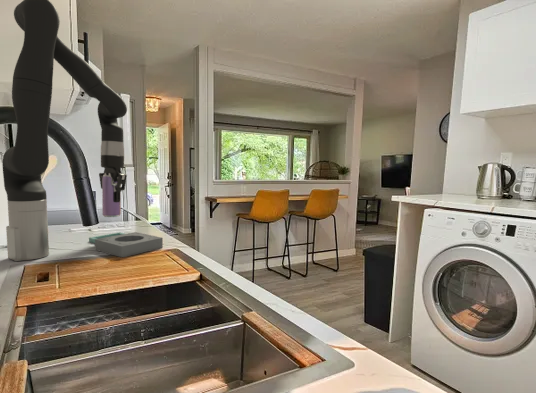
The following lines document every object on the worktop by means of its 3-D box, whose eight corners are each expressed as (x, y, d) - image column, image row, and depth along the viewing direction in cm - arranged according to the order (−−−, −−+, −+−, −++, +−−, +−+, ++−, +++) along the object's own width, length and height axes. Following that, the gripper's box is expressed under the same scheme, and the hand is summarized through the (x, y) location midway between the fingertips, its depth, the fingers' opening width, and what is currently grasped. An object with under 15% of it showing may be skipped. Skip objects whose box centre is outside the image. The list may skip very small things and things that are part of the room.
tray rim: (107, 246, 108) (107, 242, 108) (89, 241, 114) (88, 237, 114) (138, 240, 118) (138, 236, 118) (119, 236, 124) (119, 232, 124)
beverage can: (115, 217, 112) (115, 175, 111) (99, 217, 112) (98, 175, 111) (123, 215, 118) (123, 175, 117) (107, 214, 118) (107, 175, 117)
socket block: (122, 257, 96) (121, 246, 95) (95, 249, 104) (95, 239, 103) (162, 247, 108) (162, 237, 108) (135, 241, 116) (135, 232, 116)
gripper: (91, 154, 114) (91, 200, 115) (114, 153, 106) (114, 203, 107) (111, 155, 120) (111, 199, 121) (133, 155, 112) (133, 202, 114)
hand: (112, 201), depth 114 cm, fingers closed on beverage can, 4 cm apart
